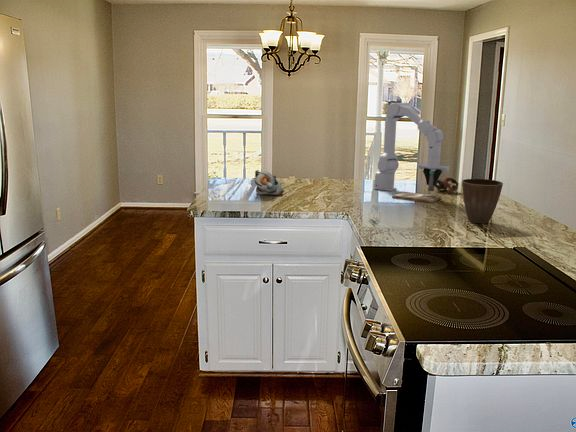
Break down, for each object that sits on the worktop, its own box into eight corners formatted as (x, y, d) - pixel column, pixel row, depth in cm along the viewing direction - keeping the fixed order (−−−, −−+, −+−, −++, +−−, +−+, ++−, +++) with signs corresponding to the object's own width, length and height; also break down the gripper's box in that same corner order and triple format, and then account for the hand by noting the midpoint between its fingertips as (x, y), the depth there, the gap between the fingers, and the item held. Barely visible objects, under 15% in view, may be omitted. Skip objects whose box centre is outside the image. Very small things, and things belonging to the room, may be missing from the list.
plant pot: (472, 227, 203) (476, 185, 199) (450, 218, 217) (454, 179, 213) (506, 225, 207) (511, 184, 203) (483, 216, 221) (487, 178, 217)
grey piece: (288, 194, 256) (283, 171, 247) (267, 206, 252) (261, 182, 243) (272, 181, 267) (267, 158, 258) (252, 192, 263) (245, 169, 254)
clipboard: (392, 198, 255) (392, 195, 254) (402, 193, 266) (402, 190, 266) (432, 203, 245) (432, 200, 245) (440, 198, 257) (440, 195, 257)
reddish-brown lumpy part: (450, 190, 280) (458, 178, 275) (453, 201, 273) (461, 189, 268) (429, 184, 279) (436, 172, 273) (431, 195, 271) (439, 183, 266)
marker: (426, 190, 255) (428, 171, 252) (428, 189, 257) (430, 170, 255) (433, 191, 253) (434, 171, 251) (435, 190, 256) (436, 171, 253)
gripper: (415, 155, 252) (413, 184, 255) (447, 158, 244) (444, 187, 248) (420, 154, 258) (418, 182, 261) (451, 156, 250) (448, 185, 253)
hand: (431, 185), depth 254 cm, fingers closed on marker, 3 cm apart
